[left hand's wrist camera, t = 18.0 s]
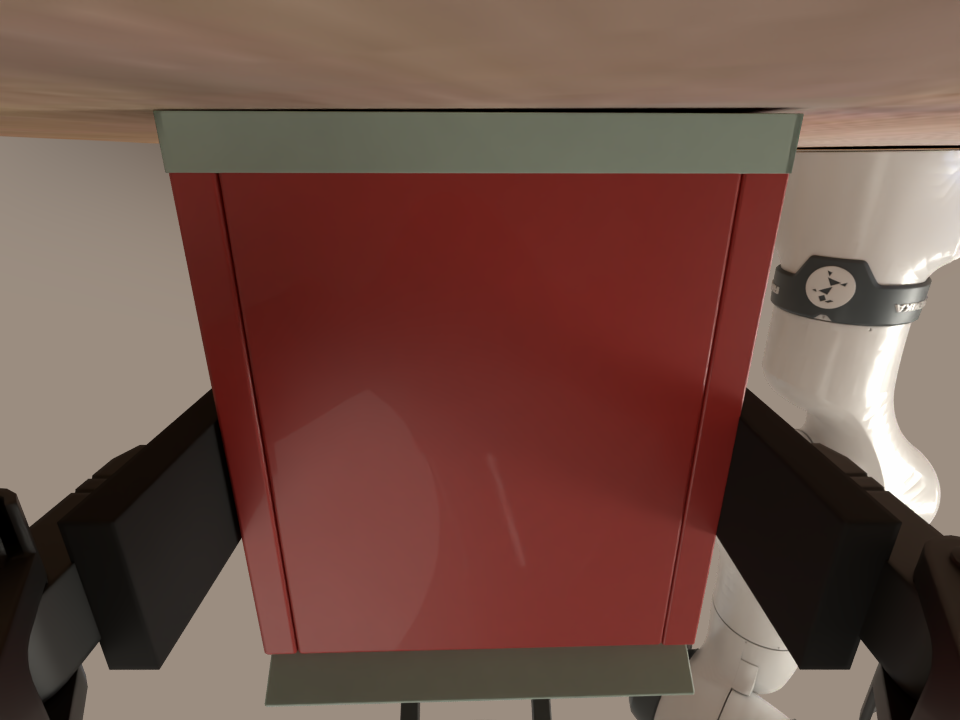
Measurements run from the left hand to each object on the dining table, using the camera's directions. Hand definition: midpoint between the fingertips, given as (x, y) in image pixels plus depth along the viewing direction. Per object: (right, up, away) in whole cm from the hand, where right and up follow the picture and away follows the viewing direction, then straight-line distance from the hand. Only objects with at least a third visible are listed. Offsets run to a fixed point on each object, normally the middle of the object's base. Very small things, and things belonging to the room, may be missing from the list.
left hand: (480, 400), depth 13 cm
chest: (0, +7, 0) cm, 7 cm away
